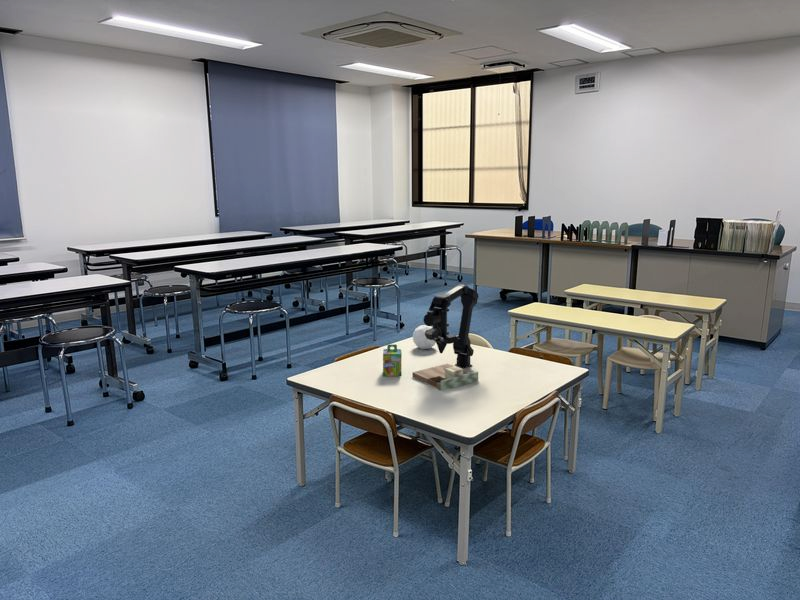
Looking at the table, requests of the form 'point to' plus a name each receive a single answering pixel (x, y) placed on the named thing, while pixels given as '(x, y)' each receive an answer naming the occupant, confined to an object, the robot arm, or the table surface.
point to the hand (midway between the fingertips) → (441, 353)
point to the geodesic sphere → (422, 337)
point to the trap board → (438, 380)
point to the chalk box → (392, 361)
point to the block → (453, 372)
